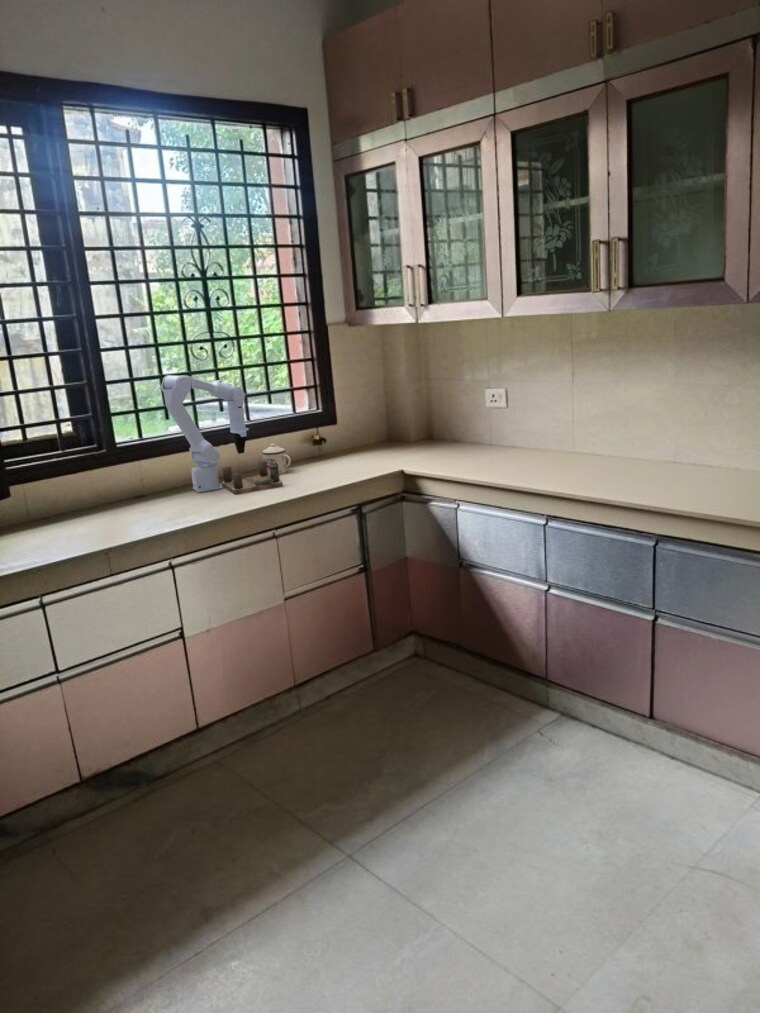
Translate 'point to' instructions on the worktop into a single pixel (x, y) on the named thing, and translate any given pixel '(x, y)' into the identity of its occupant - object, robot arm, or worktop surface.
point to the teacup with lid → (276, 458)
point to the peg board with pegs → (247, 480)
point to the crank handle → (273, 476)
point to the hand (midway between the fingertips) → (241, 453)
